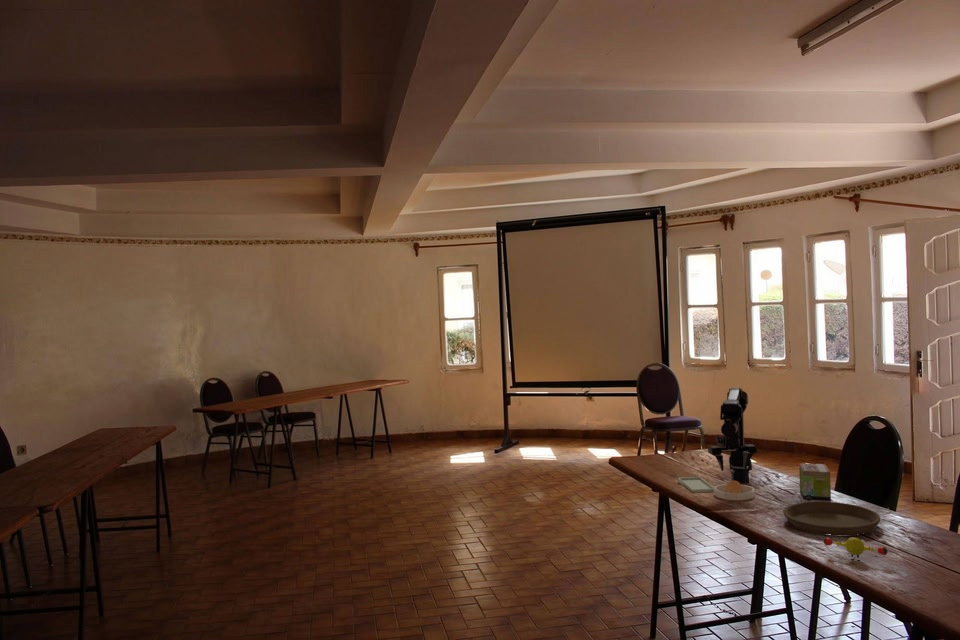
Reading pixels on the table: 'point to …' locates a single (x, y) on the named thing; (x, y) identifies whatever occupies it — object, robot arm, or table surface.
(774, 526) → the table surface
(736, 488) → the ball
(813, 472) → the tea box
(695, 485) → the tray
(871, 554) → the table surface
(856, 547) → the toy figure
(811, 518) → the plant saucer
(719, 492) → the bowl
